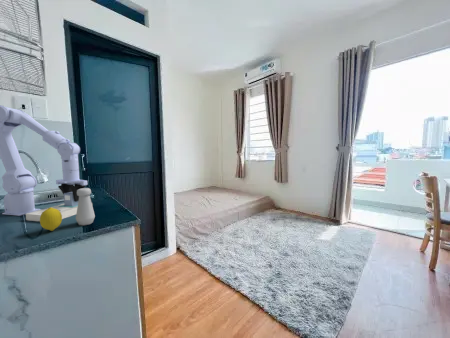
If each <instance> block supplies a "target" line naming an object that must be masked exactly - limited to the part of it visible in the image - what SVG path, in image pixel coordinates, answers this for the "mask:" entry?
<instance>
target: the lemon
mask: <svg viewBox="0 0 450 338" xmlns="http://www.w3.org/2000/svg"><path fill="white" fill-rule="evenodd" d="M52 207H53V206H50V207H47V208H48V209H47V210H45V211H44V212H43V213H42V214H41V216H40V221H39V223H40V226H41V227H42V228H43V229H44V230H49V231H51V232H53V231H55V229H57V228H58V227H60V226H61V224H62V221H63V219H62V215H61V213H60V211H59V210H57V209H55V208H52Z"/></svg>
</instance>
